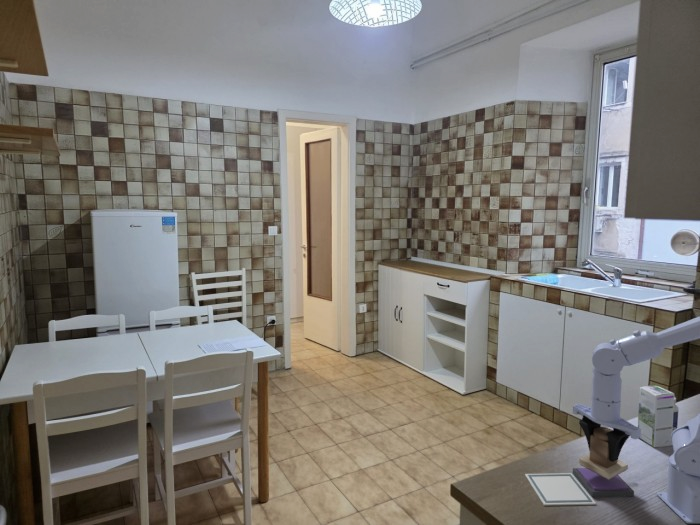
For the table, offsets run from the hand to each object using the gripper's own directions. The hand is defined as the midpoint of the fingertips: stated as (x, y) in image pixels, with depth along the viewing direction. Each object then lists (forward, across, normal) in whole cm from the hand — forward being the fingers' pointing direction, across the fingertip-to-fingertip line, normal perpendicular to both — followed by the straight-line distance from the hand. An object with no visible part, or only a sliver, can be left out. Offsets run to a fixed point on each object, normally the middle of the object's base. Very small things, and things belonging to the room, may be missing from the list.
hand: (603, 455), depth 103 cm
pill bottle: (+7, +6, -38) cm, 39 cm away
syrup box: (+7, +4, -29) cm, 30 cm away
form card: (+7, +4, +10) cm, 13 cm away
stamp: (+3, 0, 0) cm, 3 cm away
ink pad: (+7, 0, 0) cm, 7 cm away
